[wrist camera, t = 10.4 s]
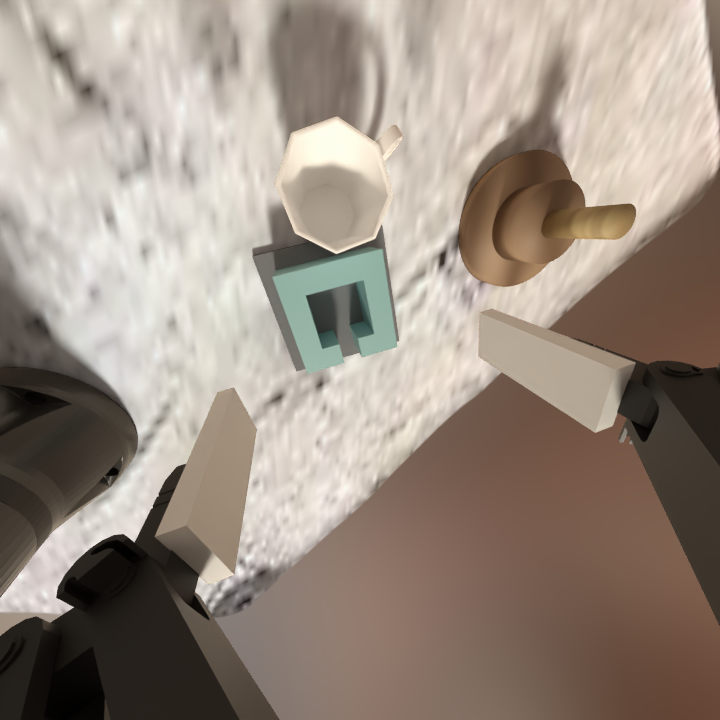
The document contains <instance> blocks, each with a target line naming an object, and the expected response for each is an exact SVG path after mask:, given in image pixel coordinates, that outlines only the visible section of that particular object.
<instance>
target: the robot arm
mask: <svg viewBox="0 0 720 720" xmlns="http://www.w3.org/2000/svg"><path fill="white" fill-rule="evenodd" d="M478 357H480V358H481V359H483V360H484V361H486V362H487V363H489V364H491V365H492V366H494V367H495V368H497V369H498V370H500V371H501V372H503V373H504V374H506V375H507V376H509V377H511V378H512V379H514V380H515V381H517V382H518V383H520V384H521V385H523V386H525V387H526V388H527V389H529V390H530V391H532V392H534V393H535V394H537V395H538V396H540V397H541V398H543V399H544V400H546V401H548V402H549V403H550V404H552V405H554V406H555V407H557V408H558V409H560V410H561V411H563V412H564V413H566V414H567V415H569V416H570V417H572V418H574V419H575V420H577V421H578V422H580V423H581V424H583V425H584V426H586V427H587V428H589V429H590V430H592V431H594V432H598V431H601V430H603V429H606V428H608V427H611V426H613V423H614V421H615V418H616V415H617V413H619V414H621V415H623V416H625V417H626V421H625V423H624V426H623V428H622V431H621V433H620V436H619V442H622V443H623V442H624V440H625V437H626V436H630V438H631V439H630V442H629V443H630V444H633V445H634V447H635V449H636V451H637V453H638V455H639V457H640V459H641V461H642V463H643V466H644V468H645V470H646V472H647V474H648V476H649V478H650V480H651V482H652V485H653V487H654V489H655V491H656V493H657V495H658V497H659V499H660V501H661V503H662V506H663V507H664V510H665V512H666V514H667V516H668V518H669V520H670V522H671V524H672V526H673V528H674V531H675V533H676V535H677V537H678V539H679V541H680V543H681V545H682V547H683V550H684V552H685V554H686V556H687V558H688V560H689V562H690V564H691V567H692V569H693V571H694V573H695V575H696V577H697V579H698V581H699V583H700V585H701V588H702V590H703V592H704V594H705V596H706V598H707V600H708V602H709V604H710V606H711V609H712V611H713V613H714V615H715V617H716V619H717V621H718V623H719V625H720V363H719V365H718V367H714V368H705V369H701V368H698V367H696V366H693V365H691V364H686V363H682V362H675V361H656V362H652V363H650V364H649V365H648V364H645V363H642V362H640V361H637V360H634V359H632V358H629V357H626V356H623V355H621V354H618V353H615V352H612V351H610V350H607V349H606V350H604V348H601V347H599V346H593V344H591V343H588V342H585V341H582V340H579V339H574V338H569V337H566V336H563V335H561V334H558V333H555V332H553V331H550V330H547V329H545V328H542V327H539V326H537V325H534V324H531V323H529V322H526V321H523V320H521V319H518V318H515V317H513V316H510V315H507V314H505V313H502V312H499V311H497V310H494V309H489V310H486V311H483V312H480V313H479V350H478ZM256 431H257V429H256V427H255V425H254V423H253V422H252V420H251V418H250V416H249V414H248V412H247V411H246V409H245V407H244V405H243V403H242V401H241V400H240V398H239V396H238V394H237V392H236V391H235V389H234V388H231V389H227V390H224V391H221V392H218V393H217V395H216V397H215V400H214V402H213V404H212V406H211V409H210V411H209V413H208V416H207V418H206V420H205V422H204V425H203V427H202V429H201V432H200V434H199V436H198V438H197V441H196V443H195V445H194V448H193V450H192V452H191V455H190V457H189V459H188V461H187V464H184V465H181V466H178V467H176V468H175V470H174V471H173V472H172V473H171V474H170V475H169V477H168V478H167V479H166V480H165V482H164V484H163V486H162V488H161V490H160V492H159V497H157V498H156V500H155V502H154V504H153V509H151V511H150V513H149V515H148V517H147V519H146V521H145V523H144V525H143V527H142V529H141V531H140V533H139V535H138V537H137V539H136V541H135V543H134V542H133V541H132V540H130V539H129V538H128V537H127V536H125V535H124V534H121V535H113V536H111V537H109V538H107V539H104V540H102V541H101V542H99V543H98V544H96V545H95V546H93V547H92V548H90V549H89V550H88V551H87V552H86V553H85V554H84V555H82V556H81V557H80V558H79V559H78V560H77V561H76V562H75V563H74V565H73V566H72V567H71V568H70V569H69V570H68V572H67V573H66V574H65V576H64V578H63V579H62V581H61V583H60V585H59V586H58V590H57V596H56V598H58V599H60V600H62V601H64V602H66V603H67V604H69V605H71V606H73V607H74V608H72V609H71V610H69V611H68V612H66V613H65V614H63V615H62V616H60V617H59V618H57V619H56V620H54V621H52V622H51V623H50V622H47V621H45V620H43V619H41V618H39V617H33V618H29V619H25V620H23V621H22V622H20V623H18V624H16V625H15V626H13V627H11V628H10V629H9V630H7V631H6V632H5V633H4V634H2V635H1V636H0V720H279V718H278V717H277V715H276V714H275V712H274V710H273V709H272V707H271V706H270V704H269V703H268V701H267V700H266V698H265V696H264V695H263V693H262V692H261V690H260V689H259V687H258V686H257V684H256V683H255V681H254V679H253V678H252V676H251V675H250V673H249V672H248V670H247V669H246V667H245V665H244V664H243V662H242V661H241V659H240V658H239V656H238V655H237V653H236V651H235V650H234V648H233V647H232V645H231V644H230V642H229V641H228V639H227V638H226V636H225V634H224V633H223V631H222V630H221V628H220V627H219V625H218V624H217V622H216V621H215V619H214V617H213V616H212V614H211V613H210V611H209V610H208V608H207V607H206V605H205V603H204V602H203V600H202V599H201V597H200V596H199V595H198V594H197V593H195V589H196V585H197V581H198V577H200V578H202V579H203V580H204V581H205V582H206V583H207V584H208V585H209V584H212V583H214V582H217V581H219V580H222V579H224V578H227V577H229V576H232V575H234V573H235V566H236V560H237V553H238V547H239V541H240V534H241V528H242V521H243V515H244V508H245V502H246V496H247V489H248V483H249V476H250V470H251V463H252V457H253V451H254V444H255V438H256ZM137 445H138V439H137V433H136V430H135V427H134V425H133V423H132V421H131V419H130V418H129V416H128V415H127V414H126V412H125V411H124V410H123V409H122V408H121V407H120V406H119V405H118V404H117V403H116V402H114V401H113V400H112V399H111V398H109V397H108V396H107V395H105V394H104V393H102V392H100V391H99V390H97V389H95V388H93V387H91V386H89V385H87V384H85V383H83V382H81V381H78V380H76V379H73V378H70V377H67V376H64V375H60V374H57V373H53V372H49V371H43V370H37V369H30V368H17V367H4V368H0V597H1V596H2V595H3V593H4V592H5V591H6V590H7V588H8V587H9V586H10V585H11V583H12V582H13V581H14V579H15V578H16V577H17V576H18V574H19V573H20V572H21V571H22V569H23V568H24V567H25V565H26V564H27V563H28V562H29V560H30V559H31V558H32V556H33V555H34V554H35V552H36V551H37V550H38V549H39V548H40V546H41V545H42V544H43V543H44V541H45V540H46V539H47V538H48V537H49V535H50V534H51V533H52V532H53V531H54V530H55V529H56V528H58V527H59V526H60V525H62V524H63V523H64V522H66V521H67V520H68V519H69V518H71V517H72V516H73V515H75V514H76V513H77V512H79V511H80V510H81V509H82V508H84V507H85V506H86V505H88V504H89V503H90V502H92V501H93V500H94V499H95V498H97V497H98V496H99V495H101V494H102V493H103V492H105V491H106V490H107V489H108V488H110V487H111V486H112V485H113V484H114V483H115V482H116V481H117V480H118V479H119V478H120V477H121V475H122V474H123V473H124V471H125V470H126V468H127V467H128V465H129V464H130V463H131V461H132V460H133V458H134V456H135V454H136V450H137Z"/></svg>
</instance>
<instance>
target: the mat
mask: <svg viewBox="0 0 720 720" xmlns="http://www.w3.org/2000/svg"><path fill="white" fill-rule="evenodd" d="M366 247H374V248H380V249H382V250H383V257H384V263H385V270H386V276H387V283H388V289H389V296H390V302H391V309H392V315H393V322H394V328H395V335H396V341H399V336H398V330H397V323H396V316H395V309H394V302H393V296H392V289H391V282H390V275H389V269H388V262H387V255H386V248H385V242H384V235H383V228H382V225H381V226H380V229H379V231H378V233H377V236H376V238H375V239H373V240H371V241H368V242H366V243H363V244H361V245H358V246H355V247H353V248H350V249H348V250H345V251H343V252H340V253H338V254H342V253H346V252H350V251H354V250H358V249H362V248H366ZM338 254H335V253H333V252H331V251H329V250H327V249H325V248H323V247H321V246H319V245H317V244H315V243H313V242H309V243H305V244H301V245H297V246H292V247H288V248H284V249H280V250H276V251H272V252H268V253H264V254H260V255H256V256H253V260H254V262H255V265H256V267H257V270H258V273H259V275H260V278H261V280H262V283H263V286H264V288H265V291H266V293H267V296H268V298H269V301H270V304H271V306H272V309H273V311H274V314H275V317H276V319H277V322H278V324H279V327H280V330H281V332H282V335H283V337H284V340H285V342H286V345H287V348H288V350H289V353H290V355H291V358H292V361H293V363H294V366H295V368H296V371H299V370H303V369H306V368H305V366H304V363H303V360H302V357H301V355H300V352H299V349H298V346H297V344H296V341H295V338H294V335H293V333H292V330H291V327H290V324H289V322H288V319H287V316H286V313H285V311H284V308H283V305H282V302H281V300H280V297H279V294H278V291H277V289H276V286H275V283H274V280H273V278H272V277H273V275H274V272H275V270H279V269H283V268H287V267H291V266H295V265H299V264H303V263H307V262H311V261H315V260H319V259H323V258H326V257H330V256H334V255H338ZM306 296H307V299H308V302H309V305H310V309H311V312H312V315H313V318H314V321H315V325H316V328H317V331H318V334H320V333H324V332H327V331H331V330H333V331H334V333H335V335H336V338H337V340H338V343H339V345H340V349H341V353H342V356H343V357H346V356H350V355H353V354H356V353H360V352H359V351H358V349H357V347H356V345H355V343H354V341H353V337H352V333H351V329H350V325H352V324H355V323H359V322H362V321H364V319H363V314H362V310H361V305H360V300H359V296H358V291H357V286H356V282H355V283H351V284H347V285H343V286H340V287H336V288H332V289H328V290H325V291H321V292H317V293H313V294H310V295H306Z"/></svg>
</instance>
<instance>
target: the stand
mask: <svg viewBox="0 0 720 720" xmlns="http://www.w3.org/2000/svg"><path fill="white" fill-rule="evenodd" d="M635 217H636V209H635V207H634V205H632V204H619V205H608V206H596V207H585V198H584V194H583V191H582V189H581V188H580V186H579V185H578V184H577V183H575V182H574V181H572V177H571V175H570V172H569V170H568V168H567V166H566V165H565V164H564V162H563V161H562V160H561V159H560V158H559V157H557V156H556V155H554V154H552V153H550V152H547V151H544V150H531V151H526V152H523V153H520V154H517V155H514V156H511V157H509V158H506V159H504V160H502V161H500V162H499V163H497V164H496V165H494V166H493V167H492V168H491V169H490V170H488V171H487V172H486V173H485V174H484V175H483V177H482V178H481V179H480V180H479V181H478V183H477V184H476V186H475V187H474V189H473V190H472V192H471V194H470V195H469V198H468V200H467V202H466V204H465V207H464V210H463V213H462V216H461V221H460V227H459V249H460V254H461V257H462V260H463V262H464V264H465V266H466V268H467V269H468V271H469V272H470V273H471V274H472V275H473V276H474V277H475V278H477V279H478V280H480V281H482V282H485V283H488V284H492V285H496V286H503V287H506V286H513V285H517V284H520V283H523V282H525V281H527V280H529V279H530V278H532V277H534V276H535V275H536V274H538V273H539V272H540V271H541V270H542V269H543V268H544V267H545V266H546V265H547V264H548V263H549V262H551V261H553V260H555V259H557V258H558V257H560V256H561V255H562V254H563V253H564V252H565V251H566V250H567V249H568V248H569V247H570V246H571V245H572V243H573V242H574V240H575V239H614V240H615V239H619V238H621V237H623V236H624V235H625V234H626V233H627V232H628V231H629V230H630V228H631V227H632V225H633V223H634V221H635Z"/></svg>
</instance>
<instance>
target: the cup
mask: <svg viewBox="0 0 720 720" xmlns="http://www.w3.org/2000/svg"><path fill="white" fill-rule="evenodd" d="M402 137H403V135H402V133H401V131H400V130H399V128H398V127H397V125H393V126H391V127H390V128H389V129H388V130H387V131H386V132H385V133H384V134H383V135H382V136H381V137H380V138H379V139H378V140H377V141H376V142H375V141H373V140H372V139H370V138H369V137H368V136H366V135H365V134H363V133H362V132H360V131H359V130H357V129H356V128H354V127H353V126H351V125H350V124H348V123H347V122H345V121H344V120H342V119H341V118H339V117H338V116H336V117H333V118H330V119H327V120H325V121H322V122H319V123H316V124H313V125H311V126H308V127H305V128H302V129H300V130H297V131H294V132H291V135H290V138H289V141H288V144H287V147H286V150H285V153H284V156H283V159H282V163H281V166H280V169H279V172H278V175H277V178H276V181H275V186H276V188H277V191H278V193H279V196H280V198H281V200H282V203H283V205H284V208H285V210H286V212H287V215H288V217H289V219H290V222H291V224H292V227H293V229H294V231H295V234H297V235H299V236H301V237H303V238H305V239H307V240H309V241H311V242H313V243H315V244H317V245H319V246H321V247H323V248H325V249H327V250H329V251H331V252H333V253H335V254H338V253H340V252H343V251H345V250H348V249H350V248H353V247H355V246H358V245H361V244H363V243H366V242H368V241H371V240H373V239H375V238H376V236H377V233H378V231H379V229H380V226H381V224H382V222H383V219H384V217H385V215H386V212H387V210H388V207H389V205H390V203H391V200H392V198H393V192H392V188H391V184H390V181H389V177H388V173H387V170H386V166H385V160H386V159H387V158H388V157H389V156H390V155H391V153H392V152H393V151H394V149H395V148H396V147H397V145H398V144H399V142H400V141H401V139H402Z"/></svg>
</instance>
